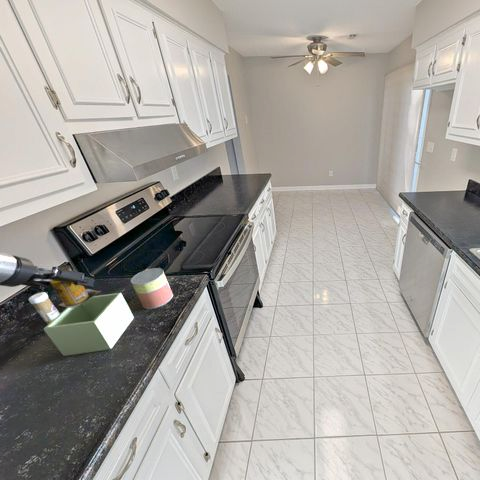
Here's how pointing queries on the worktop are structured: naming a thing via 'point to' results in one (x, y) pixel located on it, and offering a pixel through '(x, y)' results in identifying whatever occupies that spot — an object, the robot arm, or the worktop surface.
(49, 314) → the sprinkles bottle
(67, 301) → the condiment
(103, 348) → the trash bin
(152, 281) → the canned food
